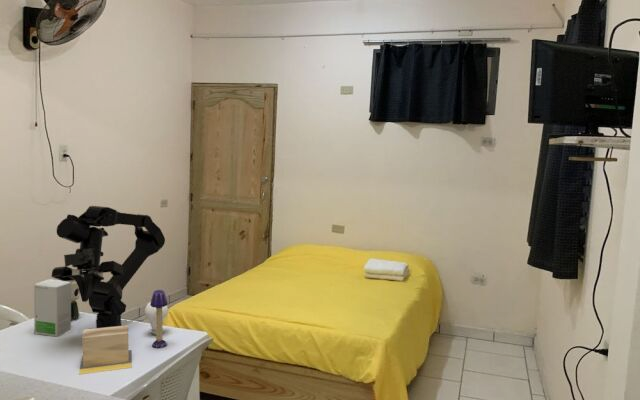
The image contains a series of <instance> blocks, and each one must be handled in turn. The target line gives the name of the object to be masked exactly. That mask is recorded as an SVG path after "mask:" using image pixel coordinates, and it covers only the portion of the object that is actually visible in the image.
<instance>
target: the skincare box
mask: <svg viewBox="0 0 640 400" xmlns="http://www.w3.org/2000/svg"><path fill="white" fill-rule="evenodd" d="M33 293H34V294H33V295H34V297H33V298H34V299H33V300H34V302H33V303H34V304H33V305H34V306H33V307H34V310H33V312H34V313H33V314H34V315H33V316H34V324H33V325H34V327H33V328H34V334H35V335H41V336H49V337H54V338H55V337H56V338H58V337H59V336H61V335H64V334H65V333H68V332H69V331H71V330H72V320H71V282H67V281H61V280H59V279H51V278H48V279H46V280H42V281H39V282H37V283H34V284H33Z"/></svg>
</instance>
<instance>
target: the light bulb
mask: <svg viewBox="0 0 640 400" xmlns="http://www.w3.org/2000/svg"><path fill="white" fill-rule="evenodd" d="M150 303H151V301H149V302H148V303H147V304H146V306H145V307H144V314H145V317H146V318H147V320H148V321H149V323H150V327H151V334H152V335H154V336H157V335H156V332H157V330H156V327H157V325H156V322H157V320H156V316H157V315H156V311H157V310H156V308H155V307H152V306H151V305H150ZM162 312H163V313H162V317H163V318H162V321H163V322H164V321H165V319H166V317H167V316H168V312H169V308H168V304H167V305H166V306H165V307H162ZM163 325H164V323H163V324H162V326H163Z"/></svg>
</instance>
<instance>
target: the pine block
mask: <svg viewBox="0 0 640 400" xmlns="http://www.w3.org/2000/svg"><path fill="white" fill-rule="evenodd" d="M81 341H82V343H81V345H82V356H83V368H85V367H93V366H101V365H109V364H117V363H125V362H129V350H130V349H129V325H128V324H127V325H121V326H116V327H106V328H96V327H95V328H87V329H84V330H83V334H82V337H81Z"/></svg>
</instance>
